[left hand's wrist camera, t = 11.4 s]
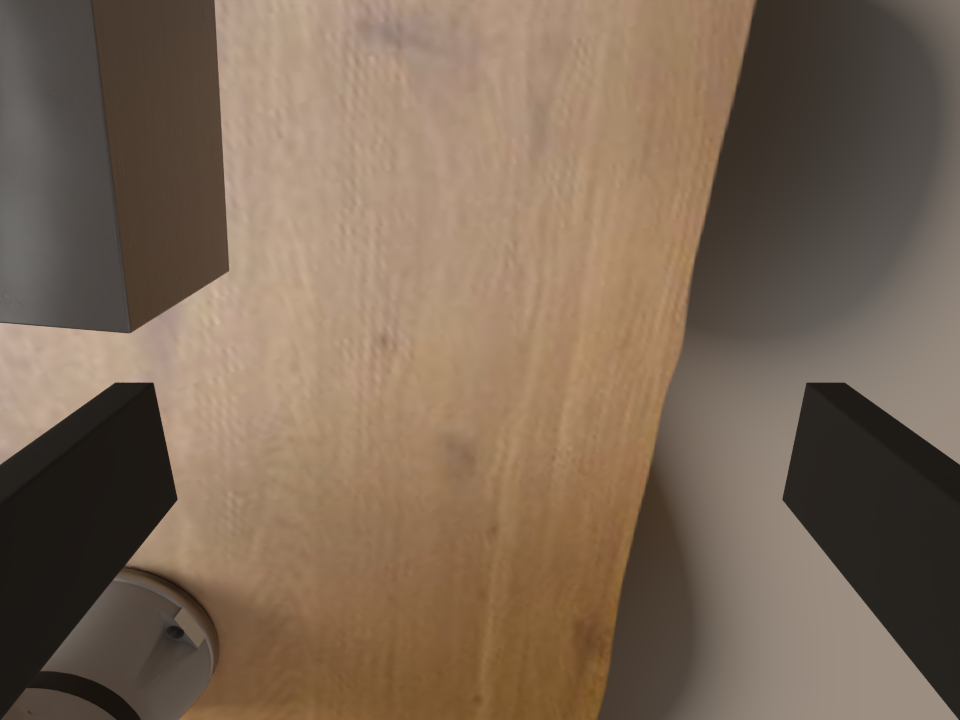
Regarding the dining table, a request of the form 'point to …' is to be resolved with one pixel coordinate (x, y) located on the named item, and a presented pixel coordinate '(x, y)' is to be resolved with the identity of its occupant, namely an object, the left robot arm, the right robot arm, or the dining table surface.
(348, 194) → the dining table surface
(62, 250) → the bar
